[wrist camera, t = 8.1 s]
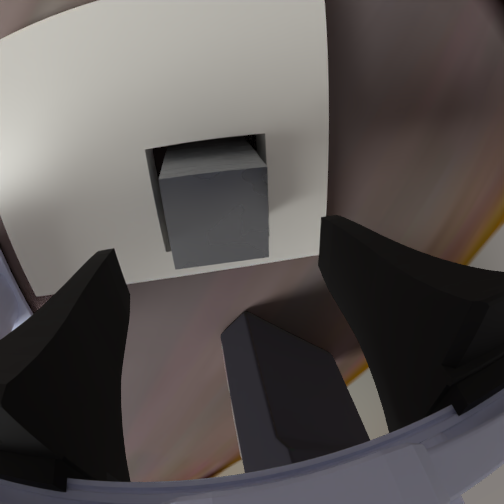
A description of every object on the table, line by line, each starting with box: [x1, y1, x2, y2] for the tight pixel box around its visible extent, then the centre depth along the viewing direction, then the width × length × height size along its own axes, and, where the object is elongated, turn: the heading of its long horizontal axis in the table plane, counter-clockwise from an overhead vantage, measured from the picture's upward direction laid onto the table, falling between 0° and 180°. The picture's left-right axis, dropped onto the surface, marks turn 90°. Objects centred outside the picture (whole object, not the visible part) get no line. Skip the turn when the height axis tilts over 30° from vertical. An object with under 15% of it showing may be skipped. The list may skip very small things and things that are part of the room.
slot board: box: [0, 0, 329, 297], centre depth 14 cm, size 18×15×2 cm
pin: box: [159, 135, 269, 270], centre depth 15 cm, size 4×4×6 cm
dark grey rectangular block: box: [221, 312, 370, 473], centre depth 20 cm, size 11×4×15 cm, turn 48°
